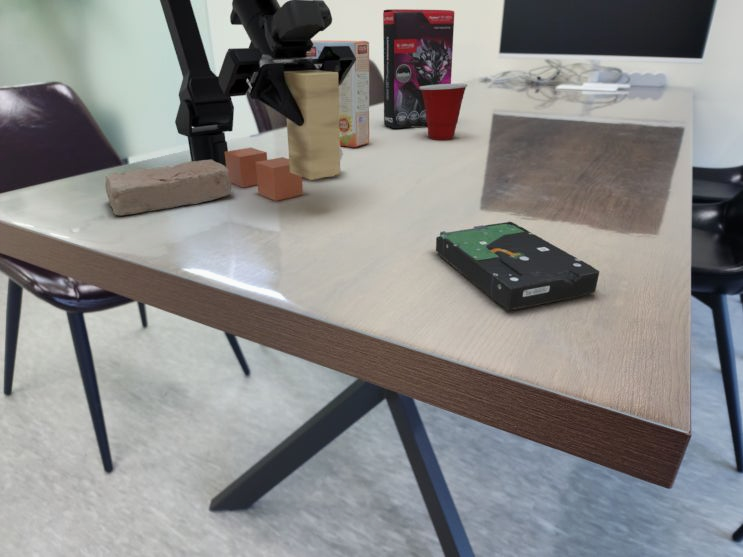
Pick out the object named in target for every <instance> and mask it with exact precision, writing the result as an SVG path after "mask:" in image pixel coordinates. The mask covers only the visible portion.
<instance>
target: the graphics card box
mask: <svg viewBox="0 0 743 557" xmlns="http://www.w3.org/2000/svg"><path fill="white" fill-rule="evenodd" d="M382 26H383V27H382V29H383V31H382V33H383V34H382V35H383V40H382V41H383V125H384V126H385V127H389V128H390V129H391V128H392V129H404V128H412V127H414V128H415V127H422V126H427V120H426V112H425V103H424V98H423V94H422V91H421V89H420V87H421V86H427V85H438V84H452V72H453V71H452V69H453V53H454V52H453V50H454V29H455V10H452V9H451V10H450V9H414V8H413V9H412V8H411V9H404V8H403V9H401V8H400V9H397V8H394V9H393V8H391V9H384V10H383V12H382Z"/></svg>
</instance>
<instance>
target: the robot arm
mask: <svg viewBox="0 0 743 557" xmlns="http://www.w3.org/2000/svg"><path fill="white" fill-rule="evenodd" d="M159 2H160V5H161V10H162V12H163V15H164V19H165V22H166V26H167V29H168V33H169V35H170V39H171V42H172V45H173V48H174V52H175V55H176V58H177V63H178V65H179V68H180V72H181V75H182V80H181V84H180V87H179V91H178V98H179V105H178V110H177V113H176V117H175V120H174V123H175V127H176V130H177V133H178V134H179V135H181V136H184V137H187V142H188V148H189V155H190V162H194V161H202V160H213V161H215V162H217V163H220V164H222V165H224V166H225V167H226V160H225V152H226V151H229V146H228V141H226V132H229V133H230V132H233V130H234V129H233V128H234V114H235V106H234V103H233V100H232V97H242V96H246V95H247V93H248V91H249V89H250V87H251V89H250V91H249V94H248V96H249V98H250V99H251V100H257V101H258V102H261V103H262V104H264V105H266V106H268V107H270V108H271V109H273V110H274V111H275V112H278V113H279V114H280V115H282V116H284V117H285V118H286V119H287V118H288V119H289V120H291V121H292V122H294V123H295V124H296V125H298V126H302V125H303V123H304V118H303V116H302V113H301V111H300V109H299V107H298V105H297V103H296V101H295V99H294V97H293V95H292V94H291V92H290V90H289V88H288V86H287V84H286V82H285V76H284V72H288V71H305V70H320V71H329V72H338V85H341V84H342V82H343V80H344V79H345V77H346V76H347V74H348V72H349V71H350V69H351V67H352V66H353V64H354V63H355V61H356V57H355V55H354V54H353V52H352V50H351V48H350V47H349V46H324V48H323V50H322V51H321V53H320V55H319V57H318V59H313V58H312V57H307V55H306V53H307V51H310V50H311V49H312V47H313V45H314V44H313V42H312V41H313V40H312V39H313V38H314V37H315V36H317V35H318V34H319V33H320V32H324V31H325V30H326V29H327V28H328V27H330V26H331V25H332V23H333V16H332V13H331V10H330V7H329V6H328V5H327V4H326V2H325V1H324V0H287V1H286V2H284V3H283V4H282V5H281V4H280V3H279V1H278V0H232V2H231V6H232V8H231V12H230V16H229V19H230V20H229V22H230V24H231V25H233V26H242V27H243V29H244V31H245V33H246V35H247V36H248V38H249V40H250V43H249V46H248V47H239V48H236V47H235V48H234V47H233V48H232V47H231V48H228V49H227V50H226V53H225V56H224V59H223V61H222V65H221V66H220V70H219V74H218V76H217V74H215V72H213V71H212V69H211V66H210V63H209V59H208V56H207V52H206V48H205V46H204V41H203V39H202V36H201V32H200V28H199V25H198V22H197V17H196V15H195V12H194V8H193V5H192V1H191V0H159ZM247 81H248V82H249V83H250V85H249V83H248V82H247Z"/></svg>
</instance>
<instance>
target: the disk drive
mask: <svg viewBox="0 0 743 557" xmlns="http://www.w3.org/2000/svg"><path fill="white" fill-rule="evenodd" d="M435 240H436V241H435V252H437V253H438V255H439V256H440V257H442V259H444V260H445V261H446V262H447V263H449V265H451V266H452V267H453V268H455V269H456V270H457V271H458V272H459V273H460V274H462V275H463V276H465V277H466V278H467V279H468V280H469V281H471V282H472V283H473V284H474V285H476V286H477V287H478V288H479V289H480V290H481V291H483V292H484V293H485V294H486V295H488V296H489V297H490V299H492V300H494V301H495V302H497V303H498V305H501V306H502V307H504V308H505V309H506V310H517V309H524V308H529V307H534V306H538V305H542V304H543V305H544V304H549V303H554V302H558V301H563V300H569V299H573V298H578V297H582V296H585V295H589V294H593V293H596V291H597V290H596V289H597V285H598V281H599V277H600V270H598V269H597V268H595V267H594V266H592V265H591V264H589V263H587V262H585V261H584V260H582V259H581V260H580V259H579V258H577V257H576V256H574V255H573V254H570V253H568V252H567V251H565V250H563V249H561V248H559V247H558V246H555V245H554V244H552V243H550V242H549V241H547V240H546V239H544V238H542V237H540V236H538V235H537V234H534V233H532V232H531V231H529V230H528V229H526V228H524V227H523V226H519V225H518V224H517V223H514V222H513V221H506V222H498V223H492V224H485V225H477V226H476V225H475V226H473V228H467V229H460V230H455V231H448V232H447V231H444V230H443V231H440V232H439V236H436V238H435Z"/></svg>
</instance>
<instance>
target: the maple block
mask: <svg viewBox="0 0 743 557" xmlns="http://www.w3.org/2000/svg"><path fill="white" fill-rule="evenodd" d="M284 76H285V82H286V84H287V86H288V88H289V90H290V92H291V94H292V95H293V97H294V99H295V101H296V103H297V105H298V107H299V109H300V111H301V113H302V116H303V118H304V123H303V125H302V126H298V125H296V124H295V123H294V122H292V121H291V120H289V119H288V118H286V130H287V131H286V132H287V143H288V144H287V147H288V159H289V164H290V173H293V174H296V175H298V176H301V177H302V178H303V179H304V178H305V179H306V180H309V181H313V180H318V179H322V178H329V177H328V176H332V175H334V176H336V175H341V161H340V146H341V145H340V134H339V85H338V72H329V71H320V70H305V71H288V72H284Z"/></svg>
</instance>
